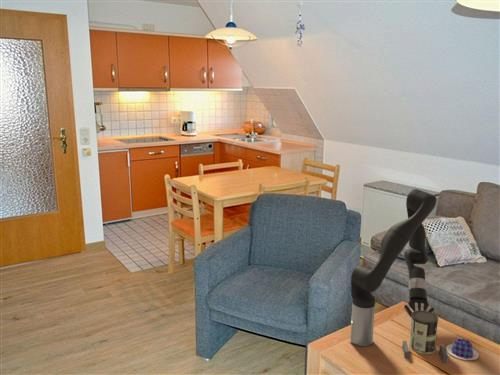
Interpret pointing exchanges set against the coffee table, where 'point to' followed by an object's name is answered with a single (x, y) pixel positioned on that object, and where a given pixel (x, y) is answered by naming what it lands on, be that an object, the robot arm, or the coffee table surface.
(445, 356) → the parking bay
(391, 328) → the coffee table surface
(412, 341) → the coffee can
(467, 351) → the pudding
